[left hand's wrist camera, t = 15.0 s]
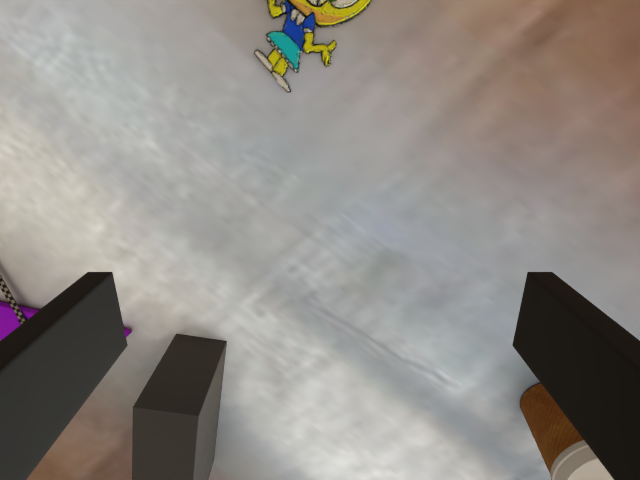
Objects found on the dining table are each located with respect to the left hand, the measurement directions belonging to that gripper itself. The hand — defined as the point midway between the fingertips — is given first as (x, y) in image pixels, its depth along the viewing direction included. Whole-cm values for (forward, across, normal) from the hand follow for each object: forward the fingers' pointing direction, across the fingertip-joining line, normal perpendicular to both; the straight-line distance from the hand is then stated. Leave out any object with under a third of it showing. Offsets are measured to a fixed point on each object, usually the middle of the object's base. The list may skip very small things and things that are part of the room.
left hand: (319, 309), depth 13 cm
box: (+30, -16, -32) cm, 47 cm away
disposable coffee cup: (+30, +30, -32) cm, 53 cm away
